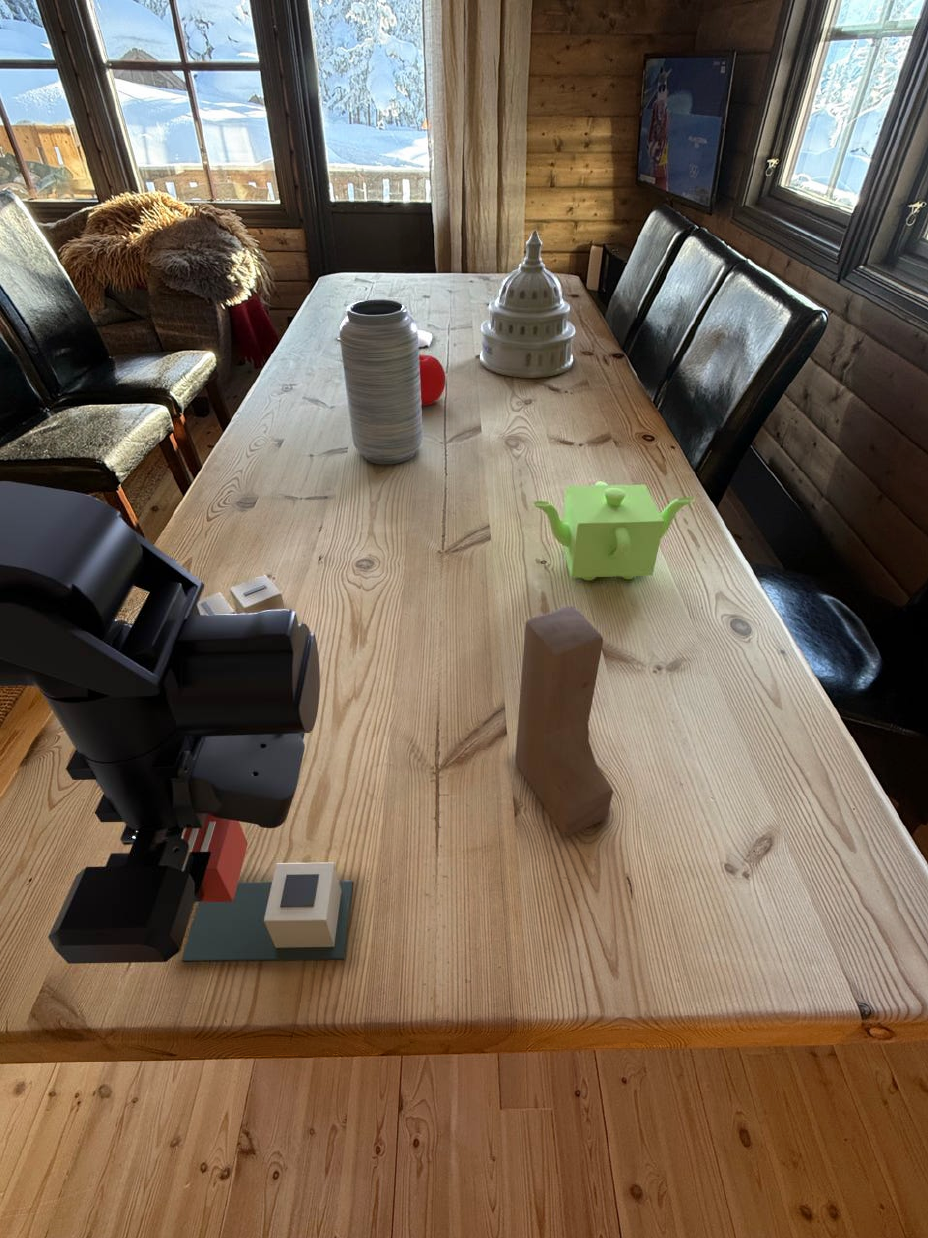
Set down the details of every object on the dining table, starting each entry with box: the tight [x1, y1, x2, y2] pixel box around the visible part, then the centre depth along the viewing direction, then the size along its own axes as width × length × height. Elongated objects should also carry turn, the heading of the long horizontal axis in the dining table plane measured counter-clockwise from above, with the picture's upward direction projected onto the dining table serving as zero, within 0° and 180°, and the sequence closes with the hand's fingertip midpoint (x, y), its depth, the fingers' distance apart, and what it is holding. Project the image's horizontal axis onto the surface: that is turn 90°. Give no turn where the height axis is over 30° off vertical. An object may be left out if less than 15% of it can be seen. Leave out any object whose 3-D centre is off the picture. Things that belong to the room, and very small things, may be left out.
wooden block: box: [514, 605, 614, 838], centre depth 54 cm, size 9×4×18 cm, turn 26°
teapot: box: [531, 481, 696, 581], centre depth 83 cm, size 15×13×11 cm
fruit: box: [419, 354, 446, 407], centre depth 123 cm, size 9×9×10 cm
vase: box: [338, 298, 424, 466], centre depth 103 cm, size 12×12×23 cm
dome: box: [479, 229, 576, 379], centre depth 135 cm, size 20×25×20 cm
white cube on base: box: [180, 862, 354, 964], centre depth 49 cm, size 12×6×5 cm, turn 91°
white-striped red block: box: [183, 813, 249, 903], centre depth 45 cm, size 4×4×4 cm
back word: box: [197, 574, 286, 615], centre depth 74 cm, size 16×6×5 cm, turn 127°
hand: (205, 866), depth 46 cm, fingers closed on white-striped red block, 4 cm apart
